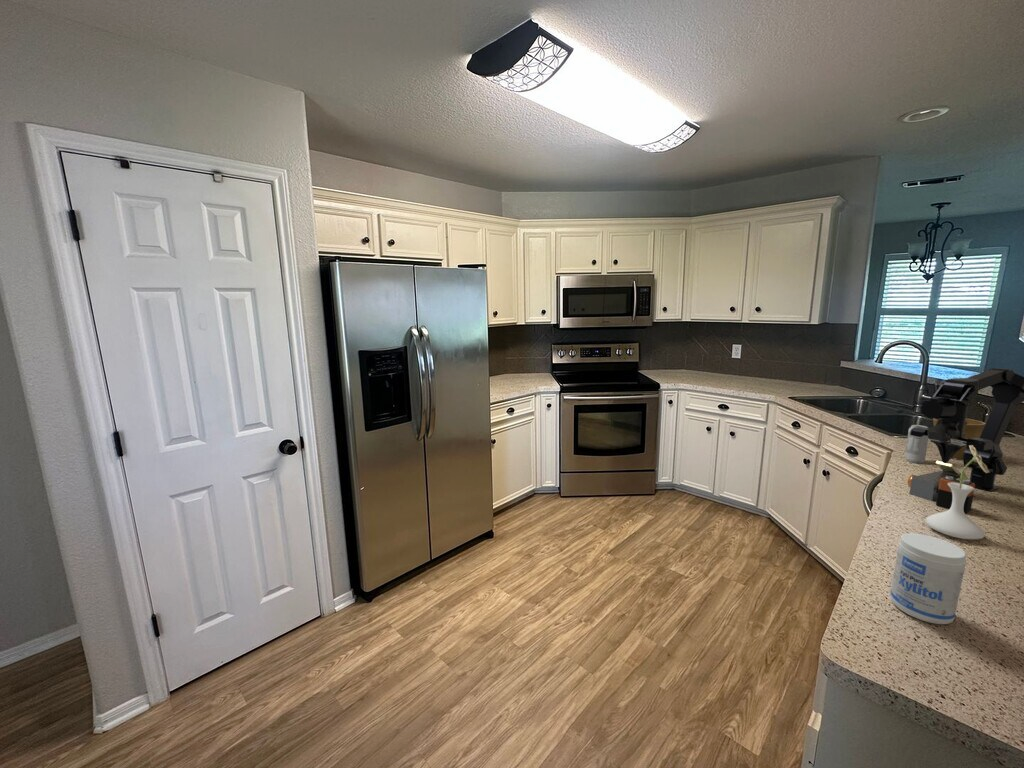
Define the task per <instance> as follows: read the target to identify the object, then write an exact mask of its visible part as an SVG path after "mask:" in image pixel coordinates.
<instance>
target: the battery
mask: <svg viewBox="0 0 1024 768" xmlns="http://www.w3.org/2000/svg"><path fill="white" fill-rule="evenodd" d="M948 483H960V481H959V480H956V479H954V478H953V477H952V476H946V477H944V478H941V479H940V482H939V488H938V494H937V500H935V501H936V502H935V505H936V506H937V507H940V508H943V507H944V509H947V508H948V509H947V510H949V509H950V508H951V505H952V499H953V498H952V491H951V488H950V487H949V485H948ZM962 484H965V485H968V486H971V487H973V488H974V490H973V491H971V492H970V493H969V494H968V495H967V497H966V499H965V502H964V508H963V509H964V513H965V514H967V513H969V512H970V511H971V510H972V505H973V500H974V499H973V498H974V494H975V484H974V483H971V482H970V479H969V480H963V481H962Z"/></svg>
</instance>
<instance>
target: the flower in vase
mask: <svg viewBox="0 0 1024 768" xmlns="http://www.w3.org/2000/svg"><path fill="white" fill-rule="evenodd" d="M969 448H970V451H971V453H972V454H973V456H974V457H973V458H972V460H971V461H970V462H969V463H968V464H967V465H966V466H963V468H962V469H961V470H960V471H961V472H960V473H961V477H960V479H956V480H959V481H960V483H948V485H949V487H950V488H951V491H952V498H953V499H952V505H951V508H950V509H947V510H945V511H941V512H938V513H937V512H936V513H934V514H932V515H929V516H927V517H926V518H925V519H924V521H925V523H926V525H927V526H928V527H930V528H931V529H933V530H935V531H936V532H939V533H941V534H944V535H946V536H948V537H954V538H957V539H962V540H981V539H983V538H984V537H985V536H986V533H985V531H984V529H983V528H982V527H981V526H979V524H977V523H976V522H975V521H973V520H972V518H970V517H969V516H967V514H966V513H964V509H963V508H964V502H965V499H966V497H967V495H968V494H969V493H970V492H971V491H973V490H974V491H975V488H973V487H971V486H968V485H965V484H962V481H963V480H970V477H968V476H967V474H966V473H965V470H966V469H967V468H968V467H967V466H968V465H969V464H970V463H971V462H972V461H974V462H978V464H979V465H980V467H981V468H982V469H983V471H984V472H985V473H988V472H989V470H988V469H987V466H986V465H985V464H984V463H983V462H982V458H981V456H980V455H978V454H977V451H976V449H975V447H974V446H973V445H972V446H971V445H969ZM989 473H990V472H989ZM962 477H963V478H962Z"/></svg>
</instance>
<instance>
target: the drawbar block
mask: <svg viewBox="0 0 1024 768" xmlns="http://www.w3.org/2000/svg"><path fill="white" fill-rule="evenodd" d="M946 476H952V477H953V478H954V479H960V477H961V476H958V475H954V474H950V473H947V472H943V471H942V470H938V471H934V472H929V473H925V474H924V473H923V474H921V475H920V474H919V475H916V476H914V477H912V480H911V486H910V487H909V495H913V496H915V497H918V498H922V499H924V500H928V501H930V500H931V501H930V502H934V501H937V494H938V492H937V486H939V482H940V479H941V478H944V477H946ZM962 478H963V476H962Z"/></svg>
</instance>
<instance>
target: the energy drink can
mask: <svg viewBox="0 0 1024 768" xmlns="http://www.w3.org/2000/svg"><path fill="white" fill-rule="evenodd" d="M915 427H925V428H929V427H928V426H926V425H919V424H911V426H910V427H909V428H908V431H907V432H908V433H907V439H906V445H905V451H904V459H905V460H906V462H908V463H914V464H923V463H924V462H925V461H926V455H927V449H928V444H929V443H928V442H929V439H928V436H925V435H924V436H922V437H917V436H912V435H910V431H911V429H912V428H915Z"/></svg>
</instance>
